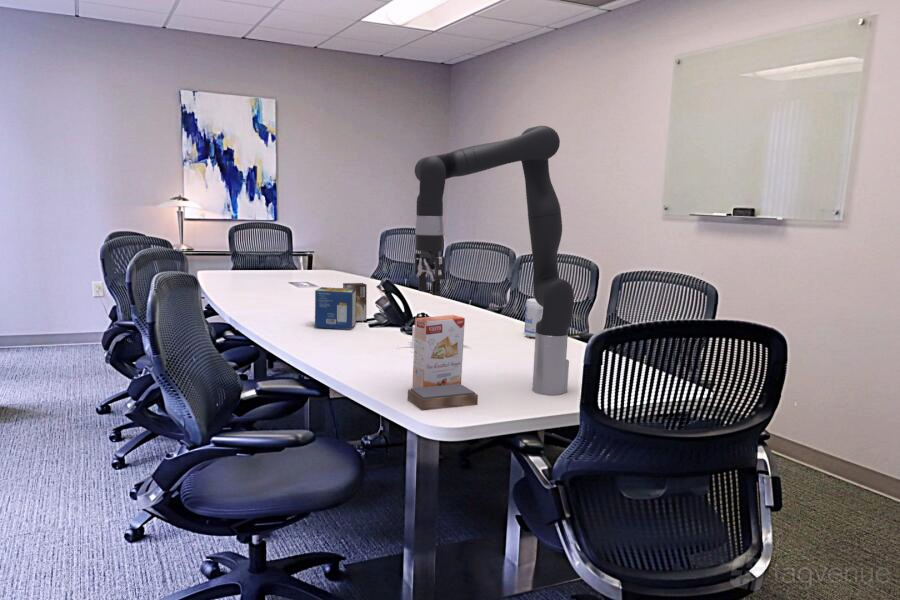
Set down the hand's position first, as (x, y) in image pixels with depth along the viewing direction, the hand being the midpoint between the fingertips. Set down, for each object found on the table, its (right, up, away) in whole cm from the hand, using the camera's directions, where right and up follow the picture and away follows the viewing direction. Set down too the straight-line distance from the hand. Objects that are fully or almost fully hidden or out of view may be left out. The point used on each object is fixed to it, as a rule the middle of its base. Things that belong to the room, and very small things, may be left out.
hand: (429, 293), depth 185 cm
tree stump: (-4, -20, +67) cm, 70 cm away
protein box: (-42, -13, +100) cm, 109 cm away
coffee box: (-36, -11, +116) cm, 122 cm away
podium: (+4, -29, -2) cm, 30 cm away
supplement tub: (+41, -17, +96) cm, 106 cm away
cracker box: (+2, -28, +12) cm, 30 cm away
